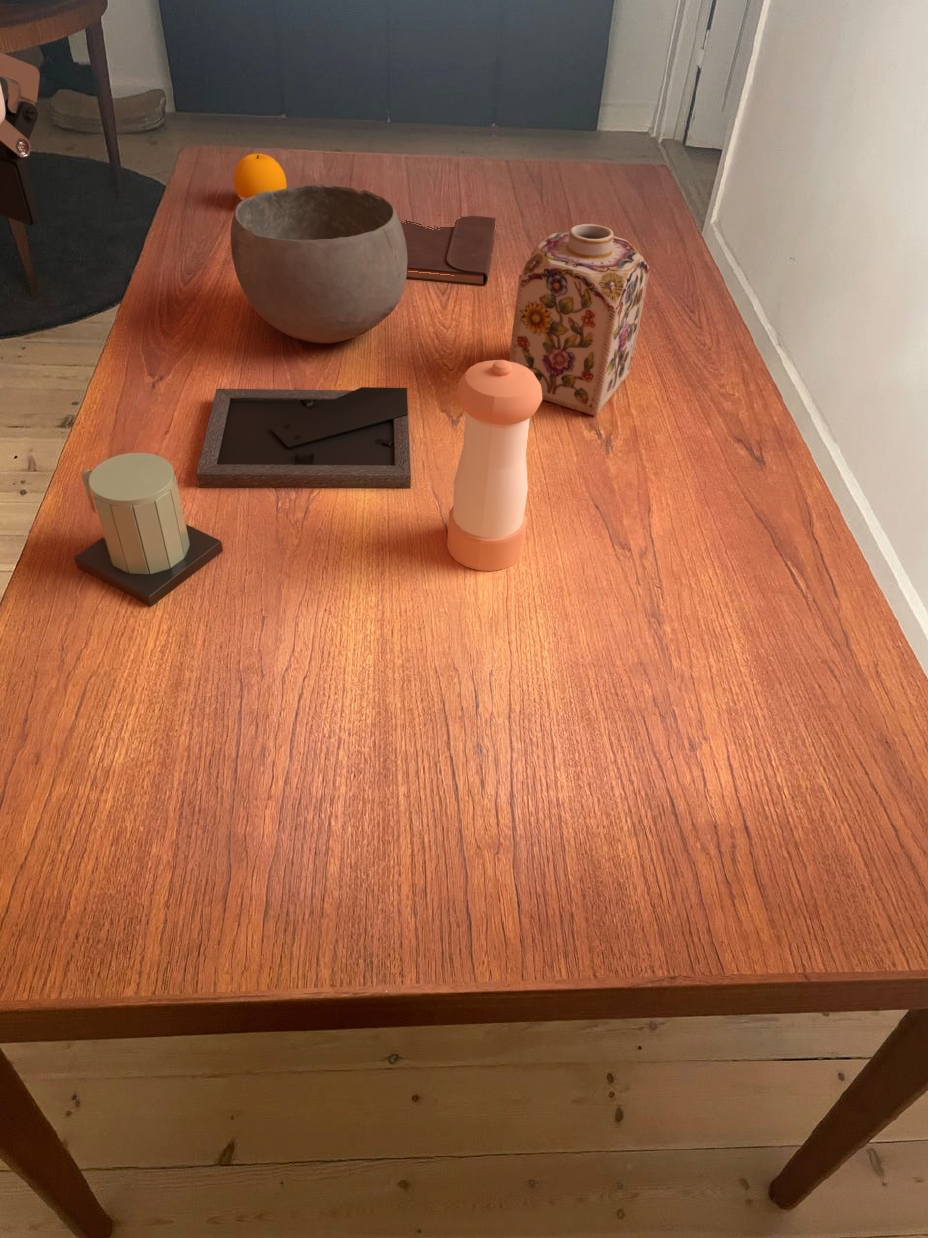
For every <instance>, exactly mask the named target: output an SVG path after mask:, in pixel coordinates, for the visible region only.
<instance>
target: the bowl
mask: <svg viewBox="0 0 928 1238" xmlns="http://www.w3.org/2000/svg"><path fill="white" fill-rule="evenodd" d="M230 249H231V258H232V261H233V262H232V263H233V267H234V271H235V275H236V278H237V280H238V283H239V285H240V287H241V290H242V291H243V294H244V295H245V297H246V299H247V301H248V302H249V304H250V305H251V307H252V308H253V309H254V310H255V312H256V313H257V314H258V315H259V316H260V317H261V318H262V319H263V320H264V321H265V322H266V323H268V324H269V325H271V326H272V327H273V328H275V329H277V330H278V331H280V332H282V333H283V334H285V335H286V336H289V337H291V338H294V339H297V340H301V341H304V342H308V343H312V344H334V343H339V342H343V341H347V340H350V339H353V338H354V337H358V336H361V335H364V334H366V333H367V332H369V331H370V330H372V329H374V328H375V327H377V326H378V325H379V324H380V323H381V322H383V321H384V320H385V319H386V318H387V317H388V316H389V315H391V314H392V312H394V310H395V309H396V307H397V306H398V305H399V302H400V300H401V299H402V298H403V297H402V296H403V295H404V292H405V287H406V283H407V282H406V281H407V279H406V275H407V262H408V261H407V248H406V241H405V237H404V233H403V229H402V226H401V223H400V220H399V215H398V213H397V210H396V209H395V207H394V205H393V204H392V203H391V202H390V201H389V200H387V199H385V198H384V197H382V196H381V195H378V194H376V193H374V192H372V191H370V190H366V189H362V190H358V189H356V188H353V187H345V186H336V185H330V186H328V185H325V184H306V185H305V184H304V185H297V186H296V185H295V186H292V187H286V189H281V190H277V191H266V192H262V193H259V194H256V195H255V196H251V197H250V198H246V199H244V200H243V201H241V200H240V202H239V203H238V204H237V205H236V207H235V209H234V212H233V215H232V218H231V225H230Z"/></svg>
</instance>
